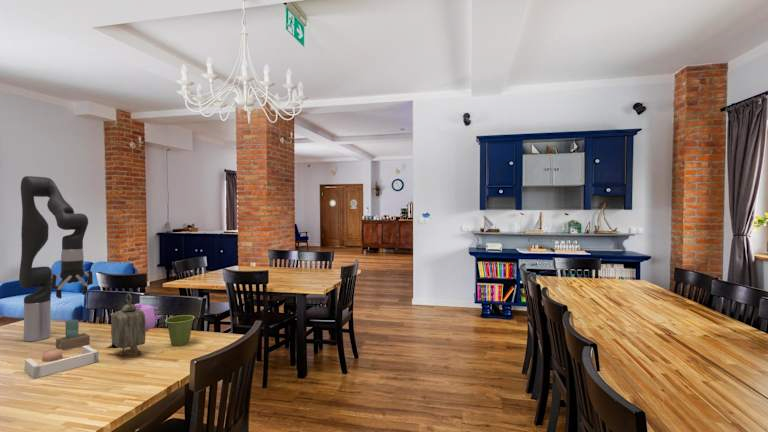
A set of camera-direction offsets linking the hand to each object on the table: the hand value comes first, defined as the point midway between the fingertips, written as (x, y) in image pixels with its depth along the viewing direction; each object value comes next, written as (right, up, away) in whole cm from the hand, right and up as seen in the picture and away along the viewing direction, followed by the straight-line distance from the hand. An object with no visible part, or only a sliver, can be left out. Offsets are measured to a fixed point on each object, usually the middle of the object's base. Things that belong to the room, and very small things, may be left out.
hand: (71, 296), depth 166 cm
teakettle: (+10, -23, +28) cm, 37 cm away
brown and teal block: (-1, -22, +2) cm, 22 cm away
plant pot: (+44, -23, +5) cm, 50 cm away
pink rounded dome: (+3, -22, -13) cm, 26 cm away
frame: (+13, -22, -20) cm, 33 cm away
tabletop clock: (+29, -23, -7) cm, 38 cm away
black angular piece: (+18, -23, +4) cm, 29 cm away
